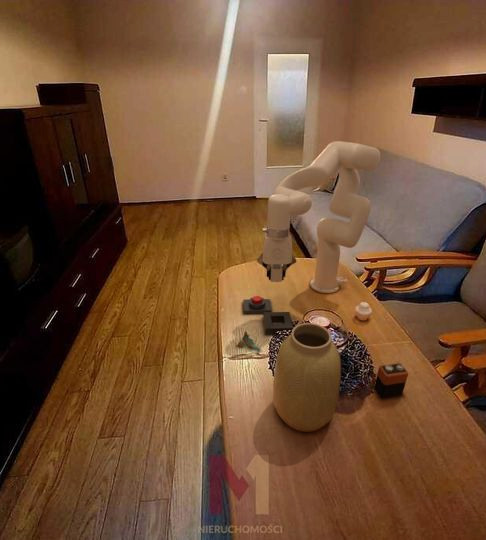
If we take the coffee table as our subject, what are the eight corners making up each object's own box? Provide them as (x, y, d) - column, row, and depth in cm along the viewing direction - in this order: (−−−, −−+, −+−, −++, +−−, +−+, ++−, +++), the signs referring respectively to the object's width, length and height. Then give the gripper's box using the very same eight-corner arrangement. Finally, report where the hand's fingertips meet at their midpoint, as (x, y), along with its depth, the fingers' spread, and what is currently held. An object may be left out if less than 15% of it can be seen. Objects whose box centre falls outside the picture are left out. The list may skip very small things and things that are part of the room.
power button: (261, 299, 141) (261, 295, 140) (261, 304, 138) (262, 300, 137) (252, 299, 141) (252, 295, 140) (252, 304, 138) (252, 300, 137)
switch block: (269, 302, 144) (270, 295, 142) (271, 313, 137) (271, 306, 135) (243, 302, 144) (243, 295, 142) (243, 314, 137) (243, 306, 135)
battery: (373, 387, 104) (379, 362, 99) (394, 384, 105) (401, 359, 100) (380, 399, 100) (387, 374, 95) (402, 396, 101) (410, 370, 96)
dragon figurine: (267, 339, 122) (248, 327, 123) (263, 346, 115) (243, 332, 116) (258, 354, 123) (239, 341, 125) (253, 361, 116) (234, 348, 118)
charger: (280, 276, 129) (281, 262, 126) (281, 281, 125) (282, 267, 122) (269, 276, 129) (270, 262, 126) (270, 282, 125) (271, 267, 122)
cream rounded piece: (355, 322, 131) (358, 307, 128) (351, 313, 137) (354, 298, 133) (372, 322, 131) (375, 307, 128) (367, 313, 136) (370, 298, 133)
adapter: (289, 317, 135) (289, 311, 133) (292, 334, 126) (293, 327, 124) (263, 318, 135) (263, 312, 133) (265, 335, 126) (265, 328, 124)
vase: (303, 451, 86) (312, 371, 73) (259, 405, 99) (261, 330, 86) (348, 416, 95) (363, 339, 82) (303, 378, 107) (310, 306, 94)
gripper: (253, 236, 115) (253, 283, 124) (304, 236, 115) (300, 283, 123) (253, 227, 121) (252, 273, 130) (301, 227, 121) (297, 273, 130)
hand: (275, 278), depth 127 cm, fingers closed on charger, 4 cm apart
